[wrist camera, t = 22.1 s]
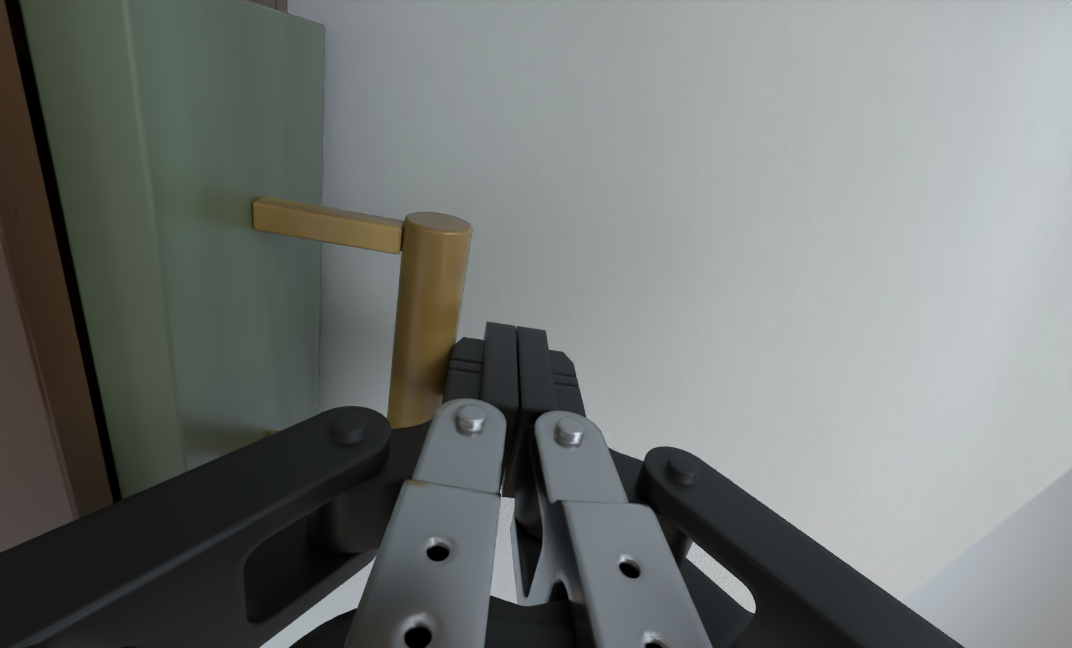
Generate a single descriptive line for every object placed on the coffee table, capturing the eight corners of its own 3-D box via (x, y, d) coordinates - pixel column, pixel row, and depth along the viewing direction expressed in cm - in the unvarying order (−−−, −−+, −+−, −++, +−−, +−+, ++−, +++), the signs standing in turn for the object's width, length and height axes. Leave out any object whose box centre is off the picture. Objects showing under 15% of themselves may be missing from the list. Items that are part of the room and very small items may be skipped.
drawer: (499, 64, 13) (496, 46, 6) (438, 464, 18) (404, 675, 12) (-414, -143, 10) (-2090, -555, 4) (-158, 398, 16) (-628, 624, 9)
